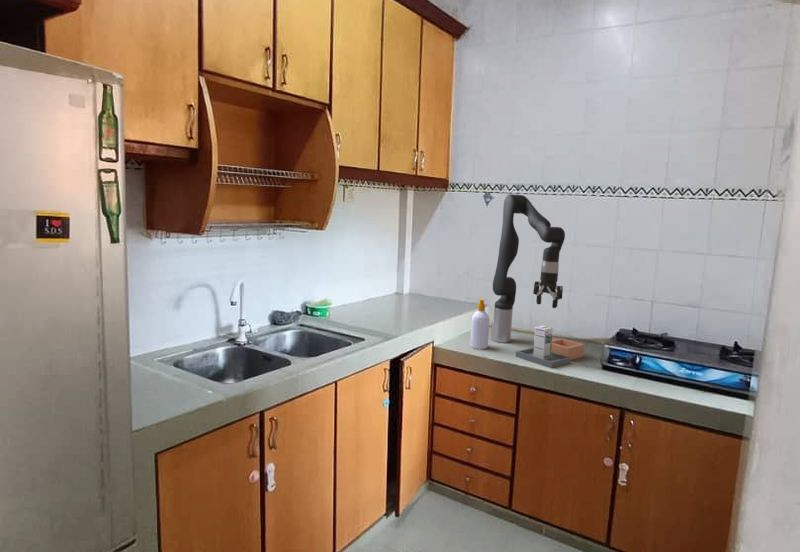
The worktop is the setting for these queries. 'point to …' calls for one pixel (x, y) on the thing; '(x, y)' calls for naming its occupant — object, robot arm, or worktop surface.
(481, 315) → the soap bottle
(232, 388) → the worktop surface
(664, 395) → the worktop surface
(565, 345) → the terracotta open box
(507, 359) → the worktop surface
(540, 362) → the charcoal tray
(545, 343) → the syrup box
